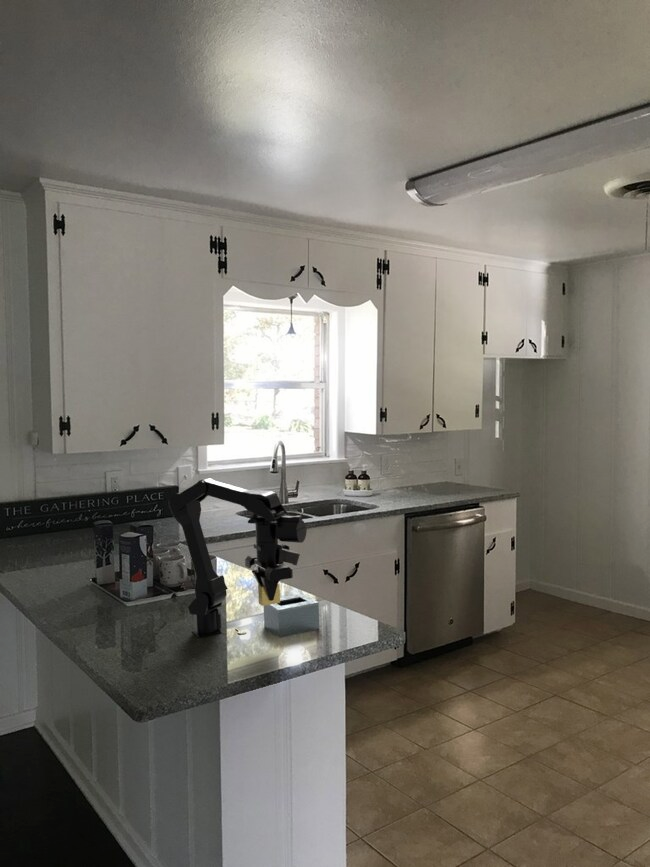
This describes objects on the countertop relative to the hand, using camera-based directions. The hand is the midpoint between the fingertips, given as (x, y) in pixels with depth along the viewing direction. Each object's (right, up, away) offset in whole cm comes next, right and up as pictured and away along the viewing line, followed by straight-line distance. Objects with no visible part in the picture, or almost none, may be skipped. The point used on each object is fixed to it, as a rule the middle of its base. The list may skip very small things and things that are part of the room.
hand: (269, 599), depth 192 cm
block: (0, -1, 0) cm, 1 cm away
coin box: (+5, -10, +10) cm, 15 cm away
